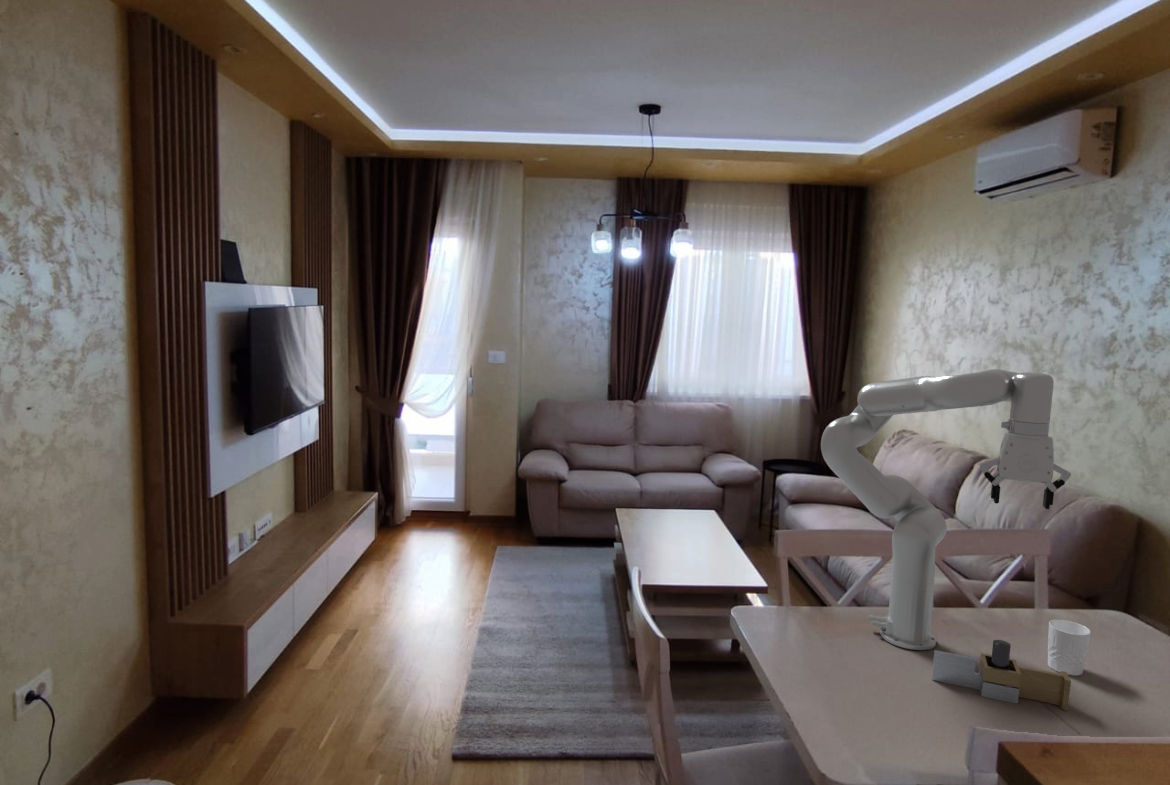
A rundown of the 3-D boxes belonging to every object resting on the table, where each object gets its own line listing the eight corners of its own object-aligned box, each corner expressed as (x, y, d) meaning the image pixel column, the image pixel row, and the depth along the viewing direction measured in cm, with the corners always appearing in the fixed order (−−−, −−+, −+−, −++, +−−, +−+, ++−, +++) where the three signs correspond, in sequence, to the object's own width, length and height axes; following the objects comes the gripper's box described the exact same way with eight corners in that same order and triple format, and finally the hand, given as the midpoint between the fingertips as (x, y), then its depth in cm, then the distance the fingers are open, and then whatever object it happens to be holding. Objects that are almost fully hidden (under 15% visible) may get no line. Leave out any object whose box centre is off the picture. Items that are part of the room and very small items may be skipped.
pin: (989, 693, 150) (994, 644, 149) (987, 686, 153) (992, 638, 152) (1006, 697, 149) (1011, 648, 148) (1004, 690, 152) (1009, 641, 151)
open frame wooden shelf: (981, 695, 149) (984, 667, 148) (978, 680, 155) (980, 653, 155) (1069, 713, 143) (1072, 684, 143) (1061, 697, 149) (1064, 669, 149)
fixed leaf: (932, 686, 153) (935, 657, 152) (931, 672, 159) (933, 644, 158) (1017, 703, 147) (1020, 674, 146) (1012, 688, 153) (1015, 659, 152)
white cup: (1092, 679, 158) (1097, 636, 157) (1053, 674, 159) (1058, 632, 158) (1075, 662, 165) (1080, 621, 164) (1038, 658, 167) (1043, 617, 166)
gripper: (985, 428, 155) (978, 503, 157) (1079, 435, 149) (1070, 514, 151) (981, 423, 162) (974, 496, 164) (1070, 430, 155) (1062, 506, 157)
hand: (1020, 504), depth 157 cm, fingers open, 9 cm apart
